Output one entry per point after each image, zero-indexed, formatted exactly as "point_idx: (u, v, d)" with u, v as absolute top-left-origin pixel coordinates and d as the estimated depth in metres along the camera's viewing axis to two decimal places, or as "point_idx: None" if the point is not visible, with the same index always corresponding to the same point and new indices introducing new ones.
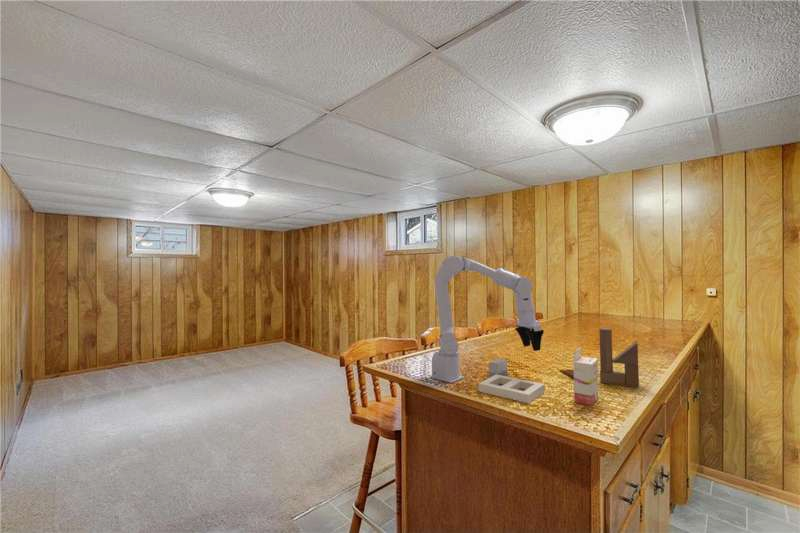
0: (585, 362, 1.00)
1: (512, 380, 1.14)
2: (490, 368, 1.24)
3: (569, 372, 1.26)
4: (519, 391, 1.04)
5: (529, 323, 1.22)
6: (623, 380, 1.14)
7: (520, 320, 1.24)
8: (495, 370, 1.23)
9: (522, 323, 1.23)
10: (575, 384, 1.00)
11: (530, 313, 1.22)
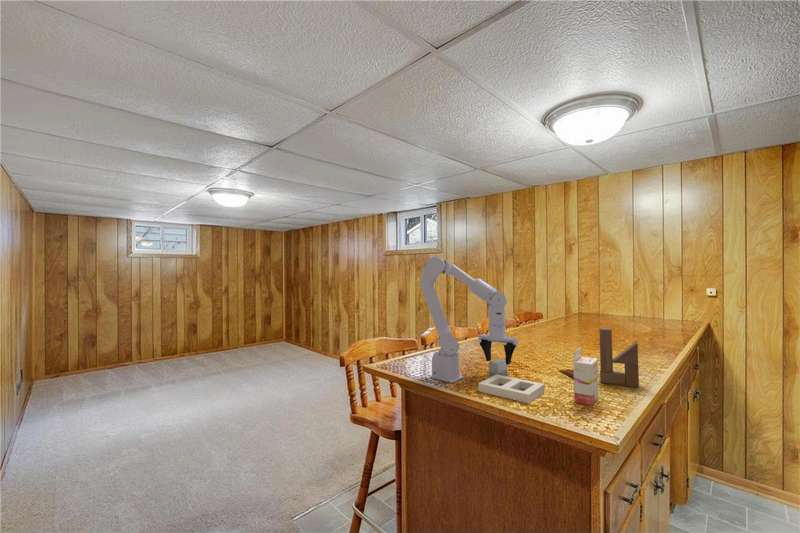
0: (585, 362, 1.00)
1: (512, 380, 1.14)
2: (490, 368, 1.24)
3: (570, 372, 1.25)
4: (519, 391, 1.04)
5: (503, 337, 1.24)
6: (623, 380, 1.14)
7: (495, 334, 1.24)
8: (495, 370, 1.23)
9: (497, 337, 1.23)
10: (575, 384, 1.00)
11: (504, 327, 1.24)
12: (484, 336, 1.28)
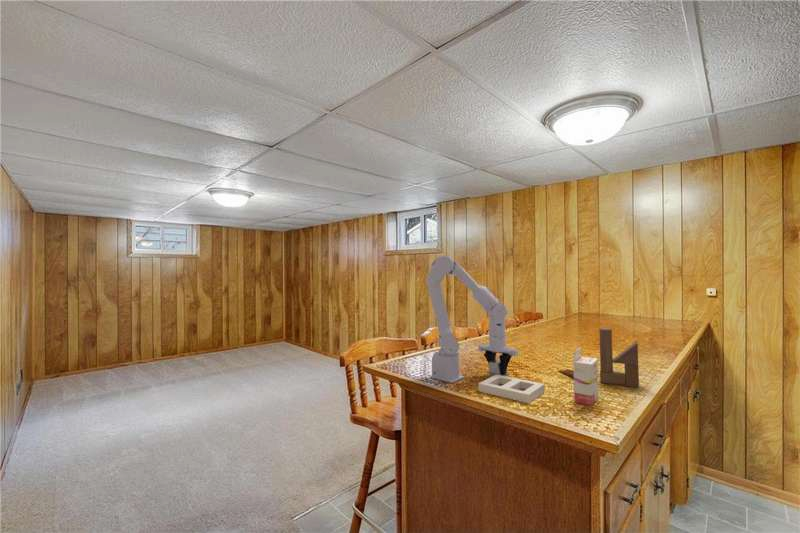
0: (585, 362, 1.00)
1: (512, 380, 1.14)
2: (490, 368, 1.24)
3: (570, 372, 1.25)
4: (519, 391, 1.04)
5: (504, 348, 1.24)
6: (623, 380, 1.14)
7: (495, 345, 1.23)
8: (495, 369, 1.23)
9: (498, 348, 1.23)
10: (575, 384, 1.00)
11: (505, 338, 1.24)
12: (484, 347, 1.28)
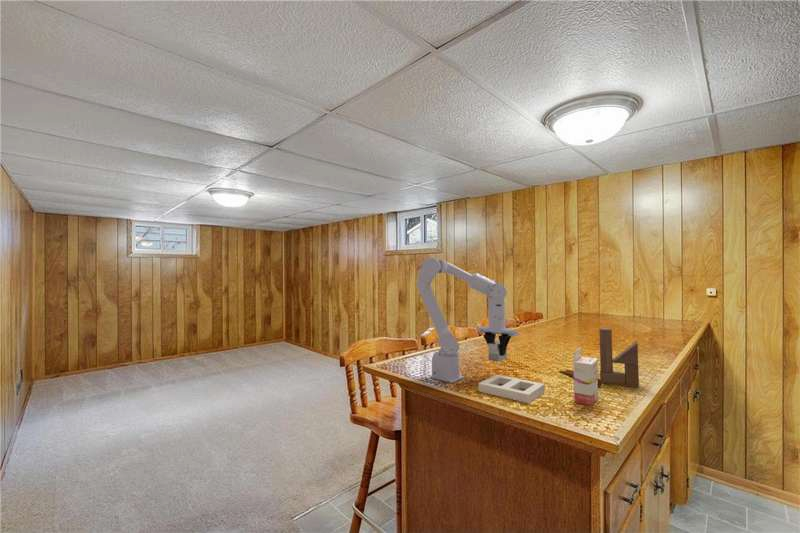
0: (585, 362, 1.00)
1: (512, 380, 1.14)
2: (490, 349, 1.24)
3: (572, 373, 1.25)
4: (519, 391, 1.04)
5: (503, 329, 1.24)
6: (623, 380, 1.14)
7: (495, 326, 1.24)
8: (495, 351, 1.23)
9: (497, 329, 1.23)
10: (575, 384, 1.00)
11: (504, 319, 1.24)
12: (484, 328, 1.28)
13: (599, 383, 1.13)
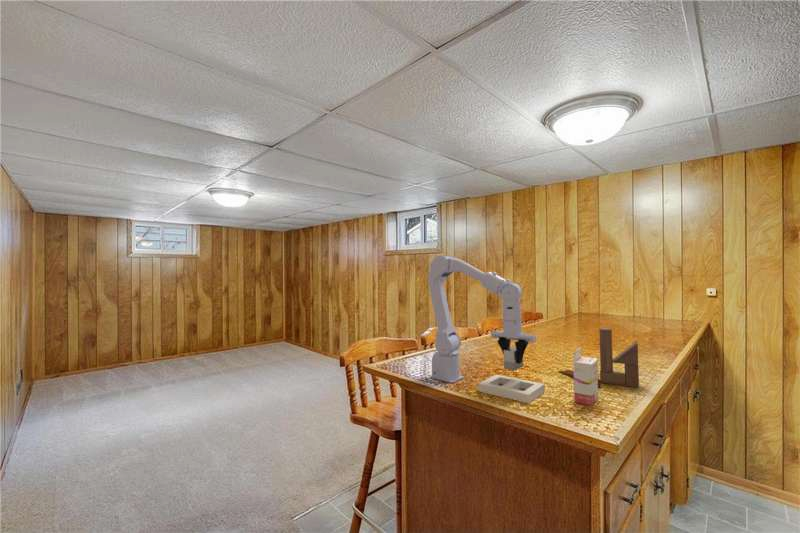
0: (585, 362, 1.00)
1: (512, 380, 1.14)
2: (505, 356, 1.13)
3: (571, 373, 1.24)
4: (519, 391, 1.04)
5: (520, 334, 1.12)
6: (623, 380, 1.14)
7: (510, 331, 1.12)
8: (511, 358, 1.11)
9: (513, 334, 1.11)
10: (575, 384, 1.00)
11: (521, 323, 1.13)
12: (498, 333, 1.16)
13: (599, 383, 1.13)
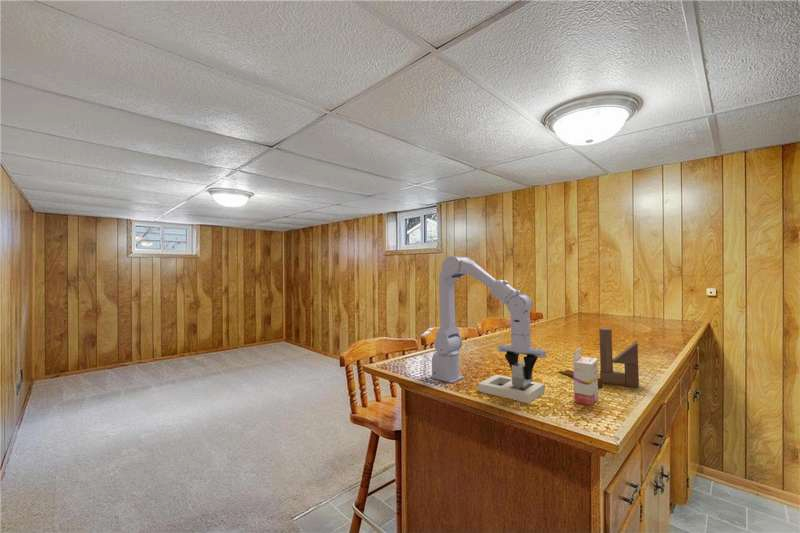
0: (585, 362, 1.00)
1: None
2: (513, 372, 1.07)
3: (572, 373, 1.24)
4: (519, 391, 1.04)
5: (529, 348, 1.06)
6: (623, 380, 1.14)
7: (519, 345, 1.06)
8: (520, 374, 1.06)
9: (522, 348, 1.06)
10: (575, 384, 1.00)
11: (530, 337, 1.07)
12: (505, 347, 1.10)
13: (601, 383, 1.12)
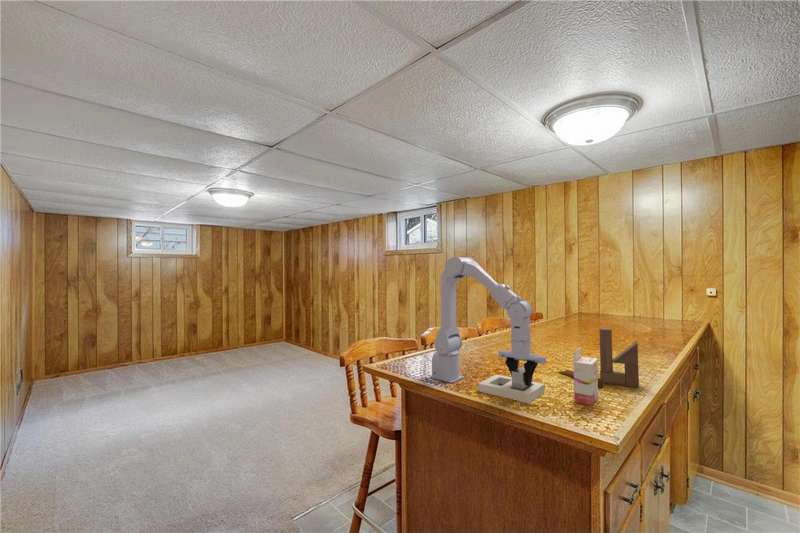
0: (585, 362, 1.00)
1: None
2: (513, 378, 1.07)
3: (572, 373, 1.24)
4: (519, 391, 1.04)
5: (529, 355, 1.06)
6: (623, 380, 1.14)
7: (519, 351, 1.06)
8: (520, 380, 1.06)
9: (522, 355, 1.06)
10: (575, 384, 1.00)
11: (530, 343, 1.07)
12: (505, 353, 1.10)
13: (602, 384, 1.12)
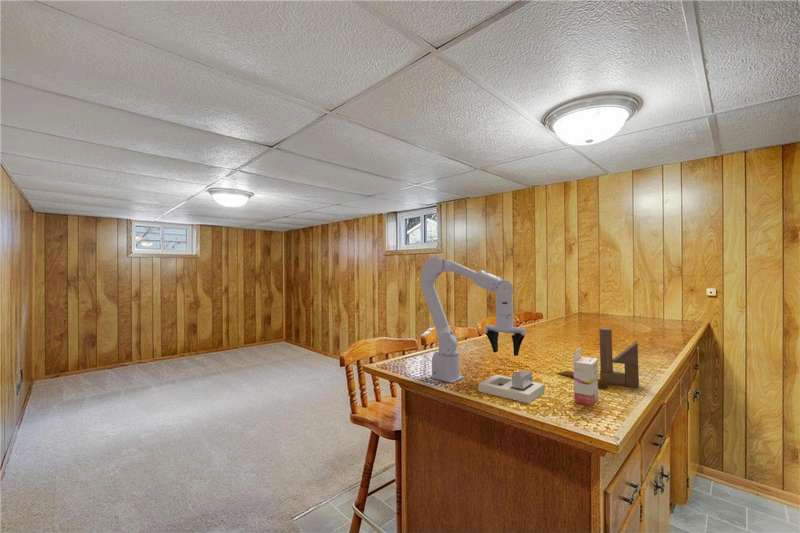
0: (585, 362, 1.00)
1: None
2: (513, 382, 1.07)
3: (573, 374, 1.23)
4: (519, 391, 1.04)
5: (511, 327, 1.19)
6: (623, 380, 1.14)
7: (502, 324, 1.19)
8: (520, 384, 1.05)
9: (505, 327, 1.19)
10: (575, 384, 1.00)
11: (512, 317, 1.20)
12: (491, 327, 1.23)
13: (606, 384, 1.12)
